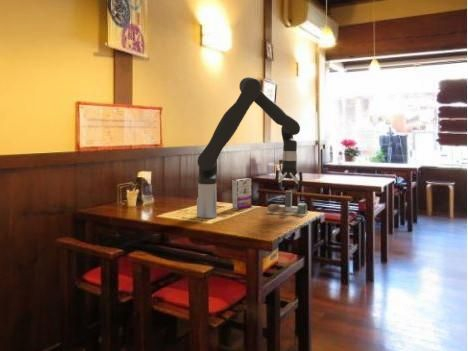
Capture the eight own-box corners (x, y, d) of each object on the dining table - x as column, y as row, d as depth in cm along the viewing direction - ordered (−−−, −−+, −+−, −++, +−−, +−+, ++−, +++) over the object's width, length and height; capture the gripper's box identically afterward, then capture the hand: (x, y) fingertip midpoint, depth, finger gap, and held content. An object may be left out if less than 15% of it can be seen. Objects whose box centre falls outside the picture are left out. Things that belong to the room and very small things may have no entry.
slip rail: (266, 213, 214) (266, 203, 214) (271, 210, 223) (271, 200, 223) (304, 216, 207) (304, 206, 207) (307, 212, 216) (308, 202, 216)
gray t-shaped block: (278, 210, 215) (278, 190, 214) (279, 209, 218) (280, 190, 217) (302, 212, 211) (303, 192, 210) (303, 211, 214) (304, 191, 212)
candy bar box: (246, 205, 236) (246, 178, 234) (251, 206, 233) (252, 178, 231) (231, 208, 229) (231, 179, 227) (237, 209, 225) (237, 180, 223)
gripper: (274, 159, 211) (273, 189, 213) (301, 160, 206) (300, 191, 208) (278, 158, 218) (277, 188, 220) (304, 159, 213) (303, 189, 215)
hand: (288, 189), depth 214 cm, fingers open, 8 cm apart
